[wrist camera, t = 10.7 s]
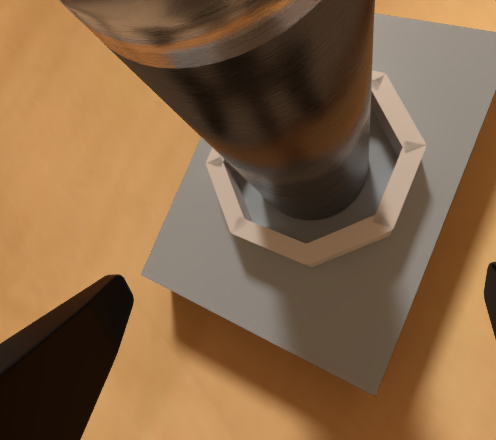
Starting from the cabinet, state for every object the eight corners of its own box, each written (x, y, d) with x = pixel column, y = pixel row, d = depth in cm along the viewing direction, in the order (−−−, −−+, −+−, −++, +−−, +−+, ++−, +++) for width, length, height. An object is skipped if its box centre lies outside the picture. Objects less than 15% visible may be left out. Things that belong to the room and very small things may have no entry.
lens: (376, 212, 16) (422, -66, 4) (264, 227, 17) (17, 66, 5) (359, 106, 17) (348, -385, 5) (255, 128, 18) (34, -204, 6)
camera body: (373, 379, 17) (376, 407, 13) (170, 277, 21) (122, 273, 17) (493, 75, 18) (532, 9, 14) (276, 33, 22) (255, -28, 18)
